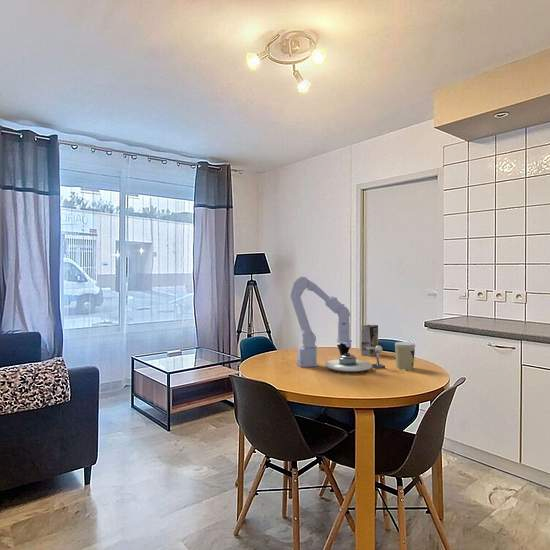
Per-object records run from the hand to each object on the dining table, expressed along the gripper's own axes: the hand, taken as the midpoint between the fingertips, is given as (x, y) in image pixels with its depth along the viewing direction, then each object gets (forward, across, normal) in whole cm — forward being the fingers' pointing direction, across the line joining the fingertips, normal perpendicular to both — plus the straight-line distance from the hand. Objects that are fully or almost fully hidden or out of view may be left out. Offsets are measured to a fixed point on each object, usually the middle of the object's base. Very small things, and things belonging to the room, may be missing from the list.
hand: (343, 359), depth 209 cm
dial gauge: (+3, -6, -13) cm, 15 cm away
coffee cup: (+3, -10, -27) cm, 29 cm away
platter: (+2, -6, 0) cm, 7 cm away
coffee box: (+3, +24, -24) cm, 34 cm away
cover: (+1, -5, 0) cm, 5 cm away
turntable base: (+3, -6, 0) cm, 7 cm away
